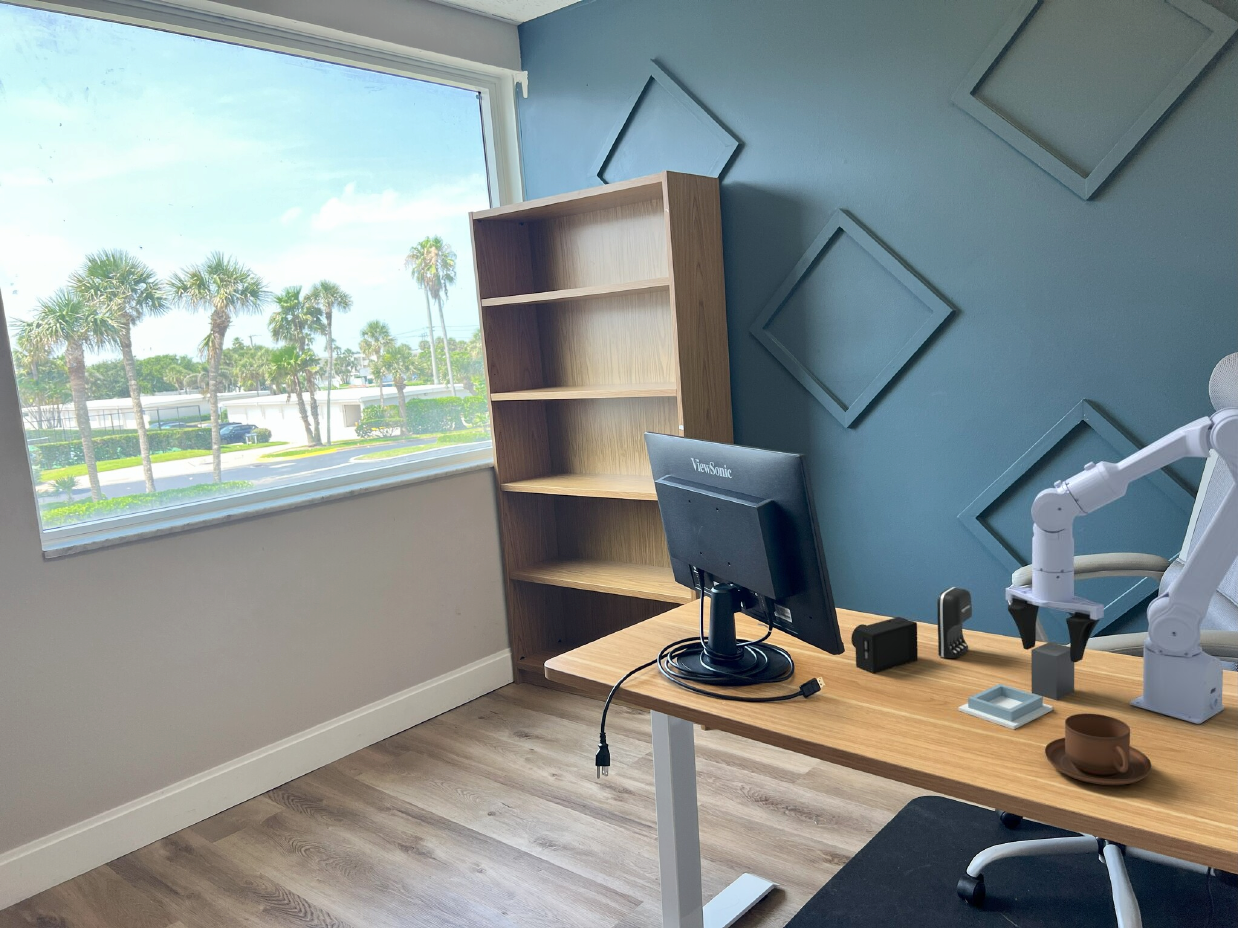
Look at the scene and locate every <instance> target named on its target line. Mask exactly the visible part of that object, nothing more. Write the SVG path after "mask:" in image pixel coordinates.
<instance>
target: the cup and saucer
mask: <svg viewBox="0 0 1238 928" xmlns="http://www.w3.org/2000/svg"><path fill="white" fill-rule="evenodd" d="M1130 743H1131V728H1130V726H1129V725H1128V724H1127V723H1126V722H1124V721H1123V720H1120V719H1119V718H1115V717H1112V716H1109V715H1105V714H1097V713H1078V714H1072V715H1070V716H1068V717H1066V718H1065V721H1064V737H1062V738H1057V739H1054V740H1051V741H1050V742H1049V743H1048V744H1047V745H1046V746H1045V748H1044V754H1045V757H1046V760H1047V761H1048V763H1050V764H1051V766H1053V767H1054V768H1055V769H1056V770H1058V771H1059V772H1060V773H1062V774H1064V775H1066V776H1068V777H1070V778H1073V779H1076V780H1078V781H1082V782H1086V783H1089V784H1090V783H1091V784H1096V785H1104V786H1123V785H1124V786H1125V785H1130V784H1133V783H1136V782H1138V781H1141V780H1142V779H1144V778H1146V777H1147V776H1148V775H1150V772H1151V770H1152V762H1151V760H1150V759H1149V757H1148V756H1147V755H1146V754H1145V753H1143V752H1142V751H1140V750H1139V749H1138V748H1137V749H1136V748H1134V747H1133V746H1131V744H1130Z"/></svg>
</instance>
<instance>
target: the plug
mask: <svg viewBox="0 0 1238 928" xmlns="http://www.w3.org/2000/svg"><path fill="white" fill-rule="evenodd" d="M1030 651H1031V652H1030V654H1031V658H1030V659H1031V662H1030V663H1031V693H1032V694H1035V695H1039V696H1042V697H1043V698H1046V699H1050V700H1052V701H1058V700H1061V699H1062V698H1064V697H1067V696H1068V695H1071V694H1072V693H1074V692H1075V662H1072V661H1071V658H1070V646H1067V645H1063V644H1058V643H1054V642H1051V641H1049V642H1046V643H1044V644H1041V645H1039V646H1037V647H1034V648H1031V650H1030Z"/></svg>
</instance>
